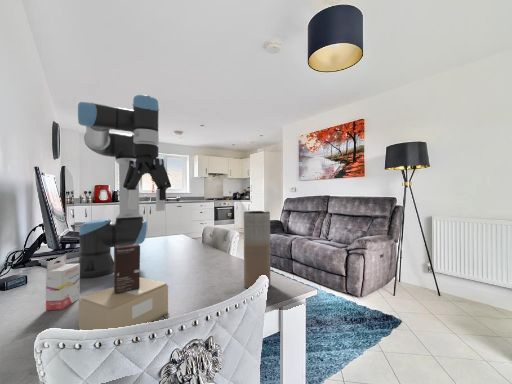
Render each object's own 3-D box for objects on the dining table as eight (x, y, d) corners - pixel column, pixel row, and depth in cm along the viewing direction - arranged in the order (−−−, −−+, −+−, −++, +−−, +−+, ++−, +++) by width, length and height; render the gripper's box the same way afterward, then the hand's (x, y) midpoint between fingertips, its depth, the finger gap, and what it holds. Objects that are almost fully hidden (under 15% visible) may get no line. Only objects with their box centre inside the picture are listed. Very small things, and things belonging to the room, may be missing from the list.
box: (115, 294, 63) (115, 248, 63) (113, 289, 67) (113, 245, 67) (140, 289, 66) (140, 245, 67) (137, 284, 70) (137, 242, 70)
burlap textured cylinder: (239, 288, 89) (239, 212, 89) (250, 279, 98) (249, 210, 99) (265, 292, 85) (264, 213, 86) (273, 282, 95) (273, 211, 95)
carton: (78, 331, 62) (78, 299, 62) (138, 304, 77) (138, 278, 77) (110, 345, 56) (110, 310, 56) (168, 313, 71) (168, 285, 71)
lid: (81, 300, 62) (81, 297, 62) (140, 279, 77) (140, 277, 77) (108, 309, 56) (108, 306, 56) (166, 285, 71) (166, 282, 71)
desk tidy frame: (38, 264, 123) (38, 259, 123) (82, 255, 141) (82, 251, 141) (59, 269, 114) (59, 264, 114) (103, 259, 132) (103, 254, 132)
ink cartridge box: (62, 310, 74) (62, 260, 74) (45, 310, 73) (45, 261, 73) (80, 298, 82) (80, 254, 82) (65, 298, 82) (65, 254, 82)
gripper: (111, 146, 82) (111, 209, 82) (163, 138, 70) (163, 212, 71) (132, 149, 89) (132, 207, 89) (182, 143, 77) (182, 210, 77)
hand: (146, 210), depth 80 cm, fingers open, 13 cm apart
